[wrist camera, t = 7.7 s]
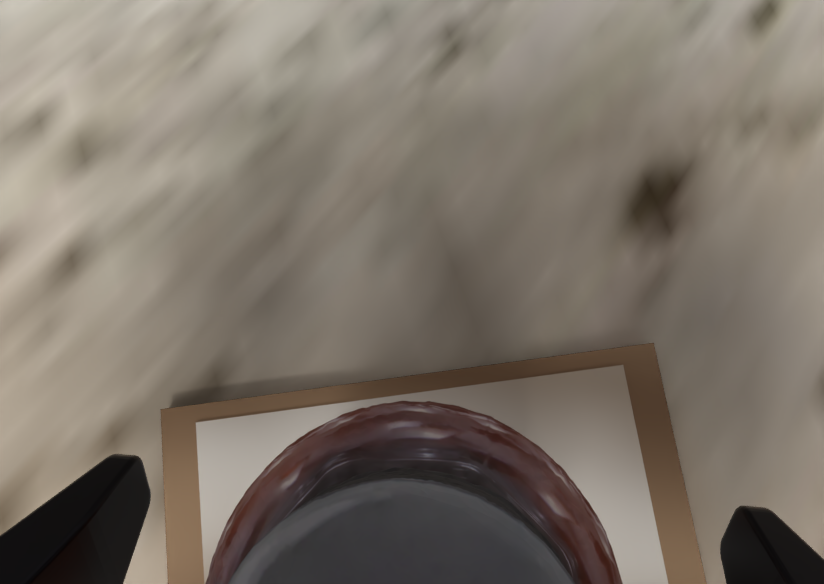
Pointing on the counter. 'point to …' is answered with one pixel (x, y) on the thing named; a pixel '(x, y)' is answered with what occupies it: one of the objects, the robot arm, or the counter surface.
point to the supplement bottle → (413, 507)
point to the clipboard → (480, 392)
